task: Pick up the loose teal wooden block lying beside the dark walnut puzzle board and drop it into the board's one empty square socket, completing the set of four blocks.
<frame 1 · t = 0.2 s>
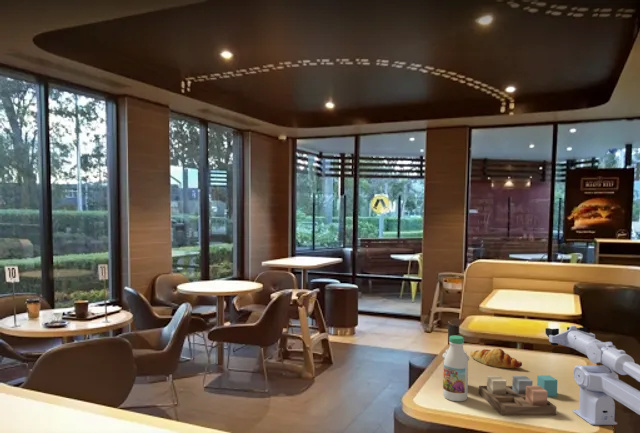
hand: (557, 330, 159), 21 cm above the table, tool horizontal, fingers open, 7 cm apart
croissant: (495, 364, 189), on the table
teal block: (546, 393, 158), on the table
milk bottle: (455, 398, 153), on the table
puzzle board: (515, 403, 149), on the table
coffee cup: (455, 385, 164), on the table
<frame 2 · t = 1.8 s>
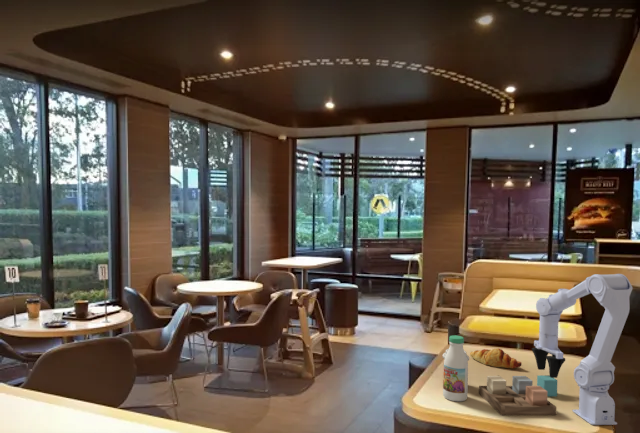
hand: (547, 373, 158), 7 cm above the table, tool pointing down, fingers open, 7 cm apart
nothing on the table moved.
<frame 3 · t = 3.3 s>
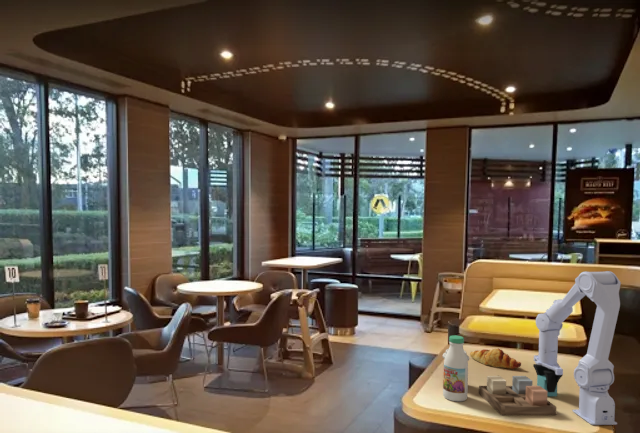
hand: (546, 388, 158), 2 cm above the table, tool pointing down, fingers closed on teal block, 4 cm apart
teal block: (546, 393, 158), on the table, touching gripper
everything else where it was.
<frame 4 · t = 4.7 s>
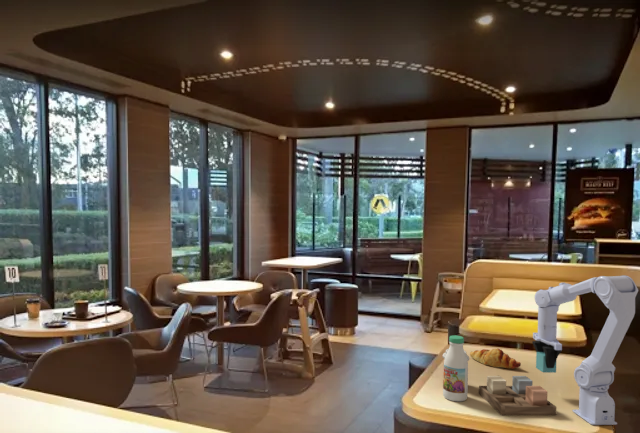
hand: (546, 365, 157), 10 cm above the table, tool pointing down, fingers closed on teal block, 4 cm apart
teal block: (545, 370, 157), point 8 cm above the table, touching gripper
everything else where it was.
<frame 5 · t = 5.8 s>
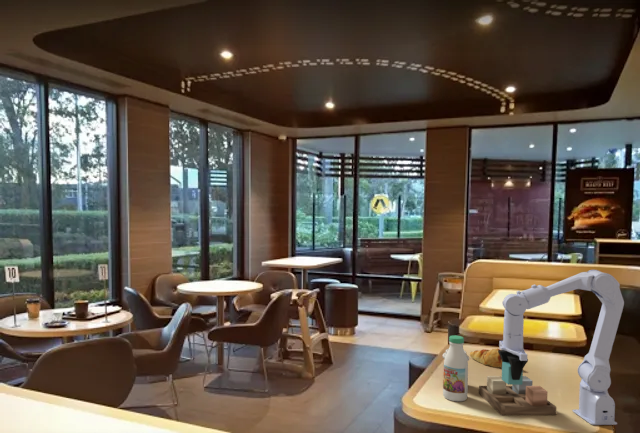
hand: (511, 376, 145), 10 cm above the table, tool pointing down, fingers closed on teal block, 4 cm apart
teal block: (511, 381, 145), point 8 cm above the table, touching gripper
everything else where it was.
when the fingers open (5 cm above the table, at t = 7.7 s): teal block drops 3 cm, resting on puzzle board.
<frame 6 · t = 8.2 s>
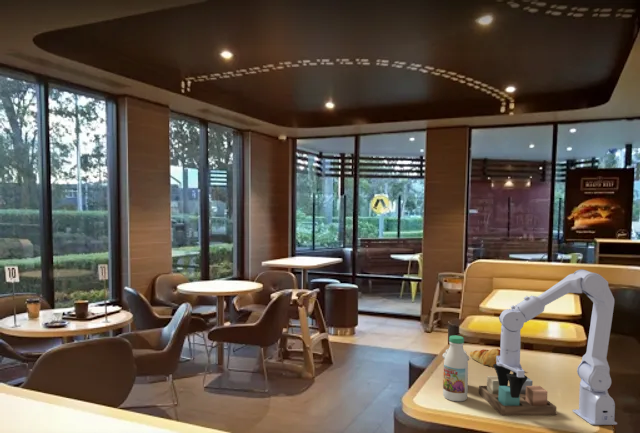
hand: (509, 392, 144), 5 cm above the table, tool pointing down, fingers open, 7 cm apart
teal block: (508, 406, 144), point 1 cm above the table, touching puzzle board
everything else where it was.
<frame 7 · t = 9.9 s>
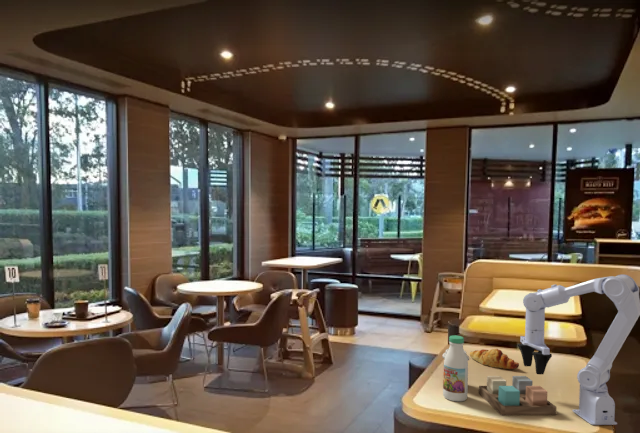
hand: (533, 369, 153), 9 cm above the table, tool pointing down, fingers open, 7 cm apart
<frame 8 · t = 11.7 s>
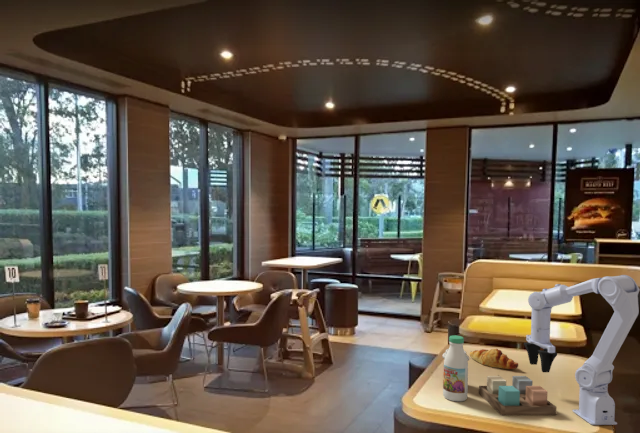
hand: (539, 368, 155), 9 cm above the table, tool pointing down, fingers open, 7 cm apart
at the end: teal block 0.0 cm from the target spot on the puzzle board, point 1.0 cm above the puzzle board's base; teal block tilted 0°; the gripper is holding nothing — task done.
